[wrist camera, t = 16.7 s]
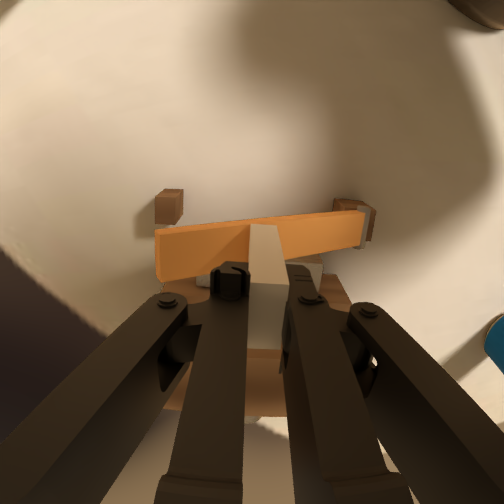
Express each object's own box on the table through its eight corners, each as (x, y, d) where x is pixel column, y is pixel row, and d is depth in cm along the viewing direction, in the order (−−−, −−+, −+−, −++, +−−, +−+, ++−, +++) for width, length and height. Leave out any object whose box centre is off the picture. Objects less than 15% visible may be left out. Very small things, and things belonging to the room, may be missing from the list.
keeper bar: (153, 223, 15) (159, 229, 14) (363, 205, 23) (373, 208, 22) (156, 280, 16) (161, 289, 15) (356, 243, 24) (366, 248, 23)
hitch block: (165, 186, 25) (125, 217, 16) (363, 201, 25) (412, 238, 17) (169, 338, 30) (148, 406, 22) (332, 347, 31) (354, 413, 22)
